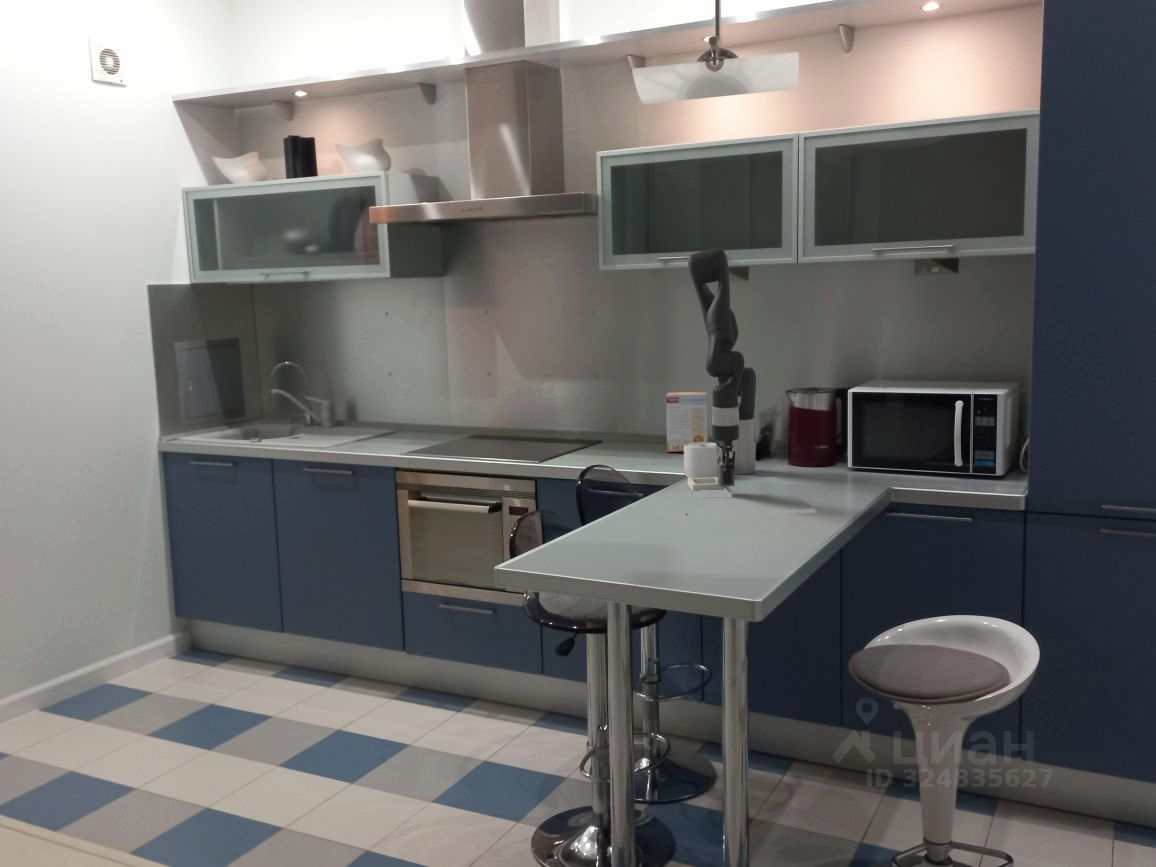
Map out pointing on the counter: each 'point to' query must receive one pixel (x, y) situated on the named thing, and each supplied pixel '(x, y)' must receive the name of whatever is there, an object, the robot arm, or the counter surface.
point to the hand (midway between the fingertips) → (725, 481)
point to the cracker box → (686, 419)
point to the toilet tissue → (700, 460)
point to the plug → (721, 476)
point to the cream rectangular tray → (704, 484)
